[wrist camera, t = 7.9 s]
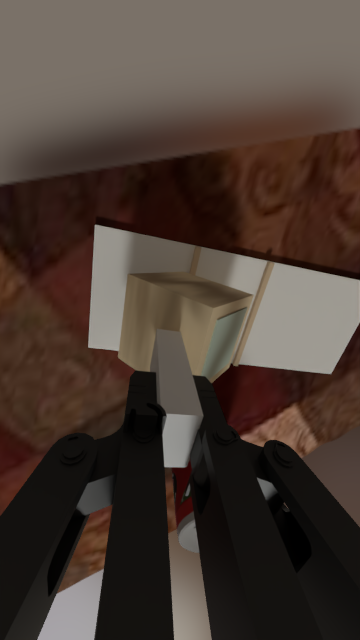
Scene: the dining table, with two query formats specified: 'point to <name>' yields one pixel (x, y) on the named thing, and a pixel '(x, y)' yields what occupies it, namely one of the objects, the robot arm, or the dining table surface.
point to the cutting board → (242, 274)
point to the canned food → (184, 509)
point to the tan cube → (182, 319)
